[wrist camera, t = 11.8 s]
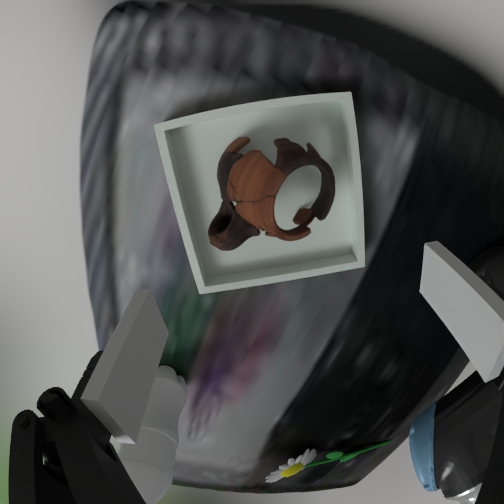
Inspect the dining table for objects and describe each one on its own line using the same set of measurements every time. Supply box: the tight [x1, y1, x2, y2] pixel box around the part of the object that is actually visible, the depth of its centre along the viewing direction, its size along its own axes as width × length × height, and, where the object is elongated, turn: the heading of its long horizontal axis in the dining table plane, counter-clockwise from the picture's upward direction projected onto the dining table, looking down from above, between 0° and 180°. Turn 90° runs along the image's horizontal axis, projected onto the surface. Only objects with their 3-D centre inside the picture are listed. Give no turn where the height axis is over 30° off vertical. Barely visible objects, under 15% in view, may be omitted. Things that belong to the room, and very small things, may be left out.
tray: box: [154, 92, 365, 294], centre depth 28 cm, size 18×18×2 cm
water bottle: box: [117, 365, 187, 504], centre depth 29 cm, size 7×7×25 cm
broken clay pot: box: [208, 137, 335, 251], centre depth 26 cm, size 12×10×8 cm
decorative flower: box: [266, 440, 391, 483], centre depth 52 cm, size 13×5×30 cm
